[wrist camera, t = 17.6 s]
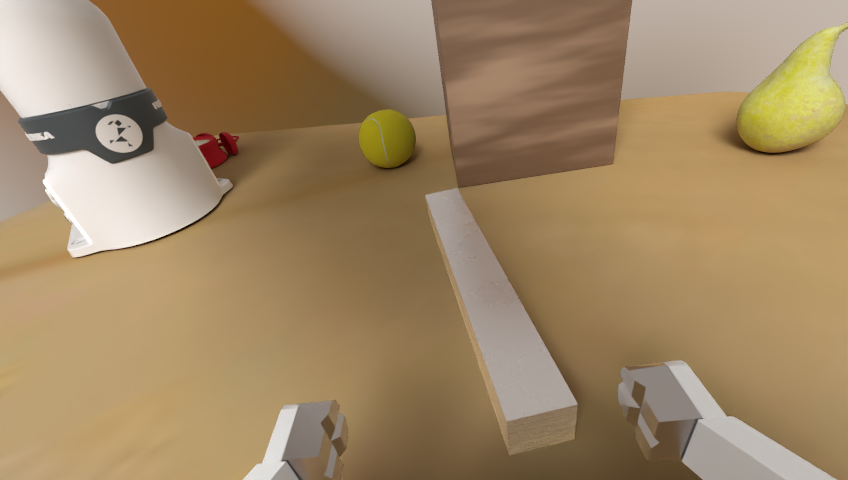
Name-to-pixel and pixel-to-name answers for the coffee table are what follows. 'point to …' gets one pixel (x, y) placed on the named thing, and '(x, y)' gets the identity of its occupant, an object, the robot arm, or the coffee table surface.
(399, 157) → the tennis ball
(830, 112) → the fruit
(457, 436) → the coffee table surface
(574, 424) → the aluminium bar
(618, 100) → the brown patterned box
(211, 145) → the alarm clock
